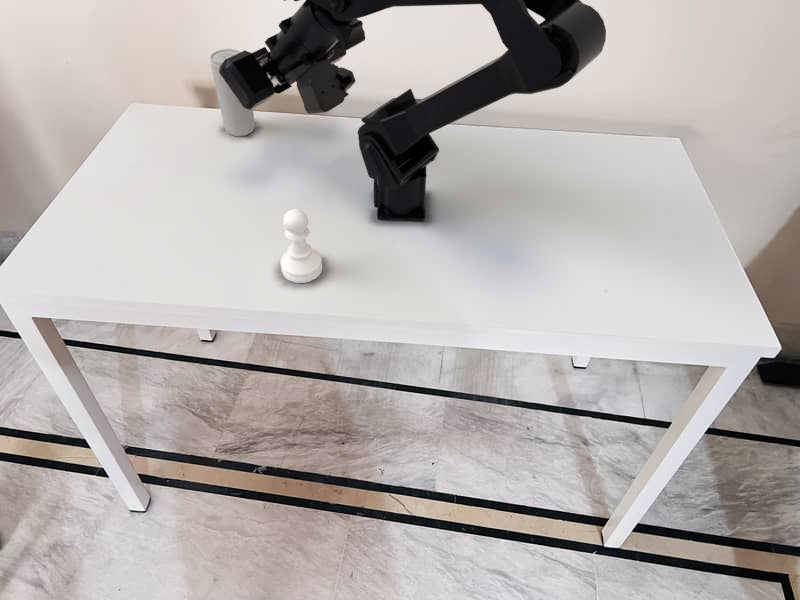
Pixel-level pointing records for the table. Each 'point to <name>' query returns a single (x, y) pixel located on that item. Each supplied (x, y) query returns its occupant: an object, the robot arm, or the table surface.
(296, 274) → the chess pawn
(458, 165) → the table surface
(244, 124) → the beverage can
